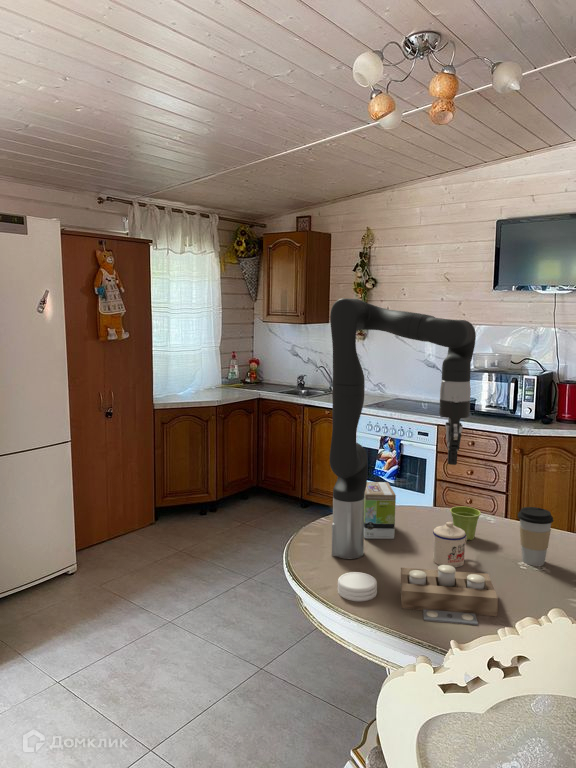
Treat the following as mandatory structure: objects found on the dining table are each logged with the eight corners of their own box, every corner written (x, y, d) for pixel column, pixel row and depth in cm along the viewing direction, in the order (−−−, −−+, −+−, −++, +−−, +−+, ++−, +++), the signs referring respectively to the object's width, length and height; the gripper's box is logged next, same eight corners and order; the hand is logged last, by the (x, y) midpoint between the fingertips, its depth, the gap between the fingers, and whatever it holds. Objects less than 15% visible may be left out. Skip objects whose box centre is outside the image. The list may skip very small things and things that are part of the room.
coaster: (376, 604, 139) (376, 590, 138) (336, 600, 140) (336, 587, 140) (377, 585, 148) (377, 572, 148) (339, 582, 150) (339, 570, 150)
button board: (401, 608, 136) (401, 590, 136) (400, 583, 149) (400, 567, 148) (497, 616, 132) (497, 598, 132) (487, 590, 145) (488, 573, 145)
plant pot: (483, 535, 182) (484, 509, 181) (475, 545, 174) (476, 518, 174) (454, 529, 187) (454, 504, 186) (445, 539, 179) (446, 512, 178)
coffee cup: (551, 558, 165) (553, 508, 163) (551, 571, 156) (553, 519, 154) (516, 552, 169) (518, 504, 167) (514, 565, 160) (516, 514, 158)
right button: (467, 596, 137) (468, 581, 137) (465, 588, 142) (465, 573, 141) (485, 598, 137) (486, 582, 136) (482, 590, 141) (483, 574, 140)
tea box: (395, 539, 179) (396, 494, 178) (363, 539, 179) (364, 494, 178) (387, 522, 194) (388, 480, 192) (358, 522, 194) (359, 480, 193)
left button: (409, 592, 140) (409, 576, 139) (408, 584, 144) (408, 569, 144) (426, 593, 139) (426, 578, 139) (425, 585, 143) (425, 570, 143)
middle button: (438, 587, 138) (438, 571, 138) (436, 579, 143) (437, 564, 142) (456, 588, 138) (456, 572, 137) (454, 580, 142) (454, 565, 141)
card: (424, 620, 131) (424, 617, 131) (422, 610, 135) (422, 608, 135) (478, 625, 129) (478, 622, 128) (475, 615, 133) (475, 612, 133)
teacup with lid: (451, 571, 156) (452, 530, 155) (425, 560, 164) (426, 521, 162) (477, 560, 163) (479, 521, 162) (452, 550, 170) (453, 513, 169)
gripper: (438, 394, 152) (435, 457, 154) (441, 401, 139) (438, 469, 141) (467, 395, 150) (464, 458, 152) (473, 402, 138) (470, 471, 140)
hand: (452, 463), depth 147 cm, fingers closed
